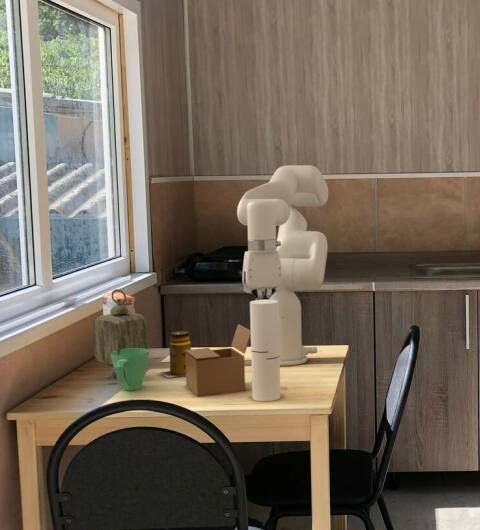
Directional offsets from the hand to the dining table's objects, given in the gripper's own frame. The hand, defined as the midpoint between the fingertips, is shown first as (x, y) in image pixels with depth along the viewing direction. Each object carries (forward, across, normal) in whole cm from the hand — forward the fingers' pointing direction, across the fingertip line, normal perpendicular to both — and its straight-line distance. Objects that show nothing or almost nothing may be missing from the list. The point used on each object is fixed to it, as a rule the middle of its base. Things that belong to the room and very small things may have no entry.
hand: (263, 312), depth 242 cm
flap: (+7, +6, 0) cm, 9 cm away
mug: (+20, +35, -10) cm, 41 cm away
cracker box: (+19, +31, -46) cm, 58 cm away
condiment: (+20, +19, -22) cm, 35 cm away
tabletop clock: (+20, +34, -28) cm, 48 cm away
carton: (+20, +14, 0) cm, 24 cm away
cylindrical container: (+20, +4, +15) cm, 25 cm away
